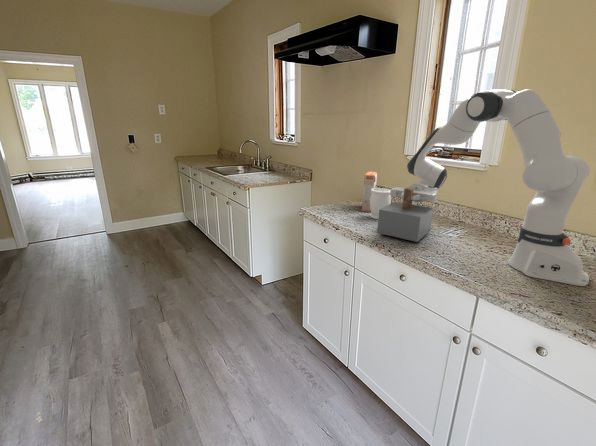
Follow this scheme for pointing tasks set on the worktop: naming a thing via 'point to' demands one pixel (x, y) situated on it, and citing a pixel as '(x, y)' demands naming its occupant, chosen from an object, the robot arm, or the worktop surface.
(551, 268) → the robot arm
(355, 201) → the worktop surface
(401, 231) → the lid
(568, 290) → the worktop surface
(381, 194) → the jar
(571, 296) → the worktop surface
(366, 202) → the cracker box
